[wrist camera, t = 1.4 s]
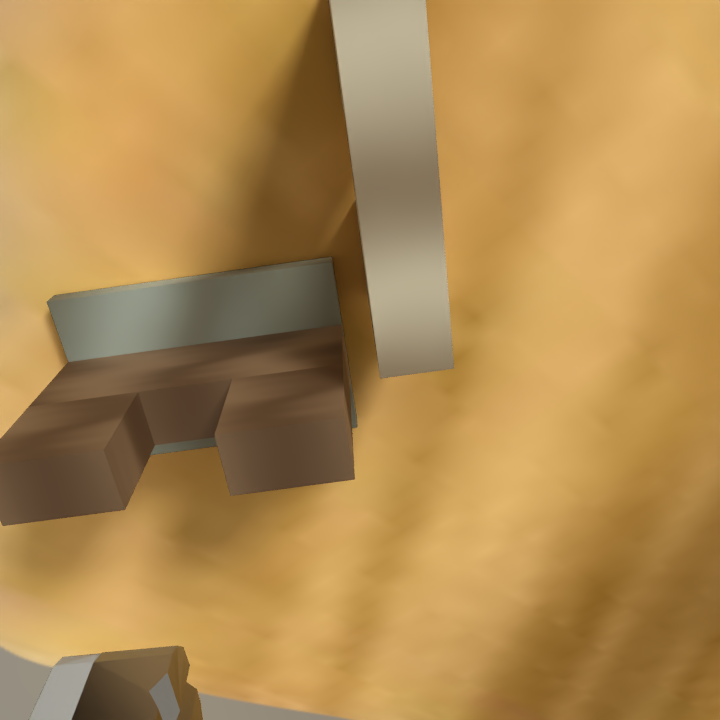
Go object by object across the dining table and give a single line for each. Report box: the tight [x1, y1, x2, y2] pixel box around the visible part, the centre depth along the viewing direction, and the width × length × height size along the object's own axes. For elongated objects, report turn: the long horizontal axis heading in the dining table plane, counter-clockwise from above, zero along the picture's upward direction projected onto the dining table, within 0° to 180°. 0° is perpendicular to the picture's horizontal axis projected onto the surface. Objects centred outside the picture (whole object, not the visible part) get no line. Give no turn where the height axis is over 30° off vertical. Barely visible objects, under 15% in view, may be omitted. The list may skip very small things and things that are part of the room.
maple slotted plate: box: [329, 0, 454, 378], centre depth 22 cm, size 12×2×8 cm, turn 8°
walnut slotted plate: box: [0, 257, 357, 526], centre depth 25 cm, size 12×8×9 cm, turn 98°
